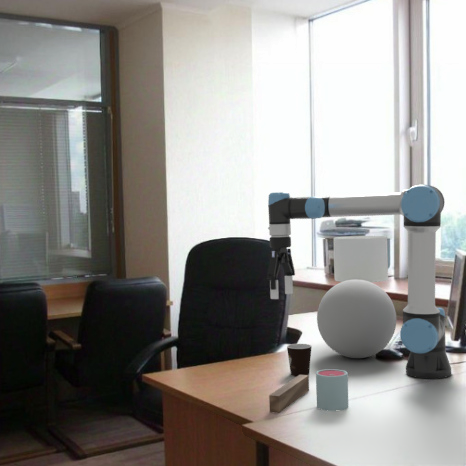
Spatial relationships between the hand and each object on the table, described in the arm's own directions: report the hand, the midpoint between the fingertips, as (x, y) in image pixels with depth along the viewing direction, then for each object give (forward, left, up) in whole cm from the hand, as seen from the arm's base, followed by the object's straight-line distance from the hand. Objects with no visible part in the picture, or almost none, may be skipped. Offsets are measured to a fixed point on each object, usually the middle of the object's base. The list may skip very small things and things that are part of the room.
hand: (282, 296), depth 251 cm
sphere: (-18, -33, -28) cm, 46 cm away
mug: (-29, +31, -28) cm, 51 cm away
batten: (-14, +32, -27) cm, 45 cm away
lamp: (-10, -66, -28) cm, 73 cm away
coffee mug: (-5, -2, -28) cm, 28 cm away
